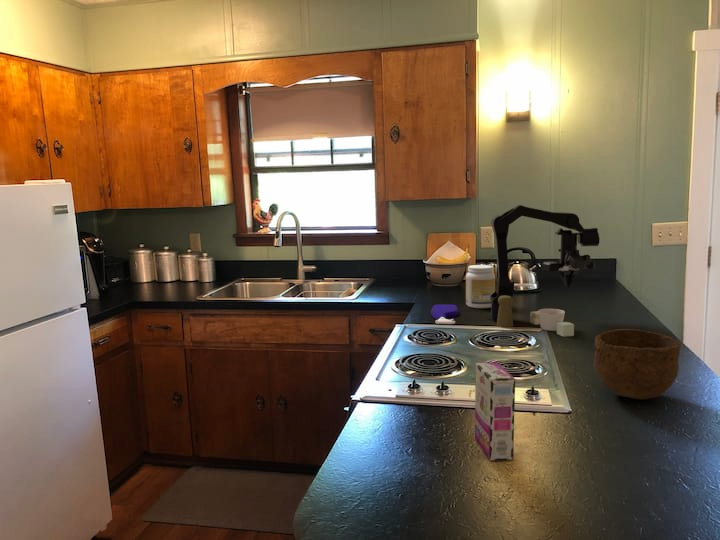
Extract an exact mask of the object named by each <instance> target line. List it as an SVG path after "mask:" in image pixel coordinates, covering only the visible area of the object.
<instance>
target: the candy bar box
mask: <svg viewBox="0 0 720 540" xmlns="http://www.w3.org/2000/svg"><path fill="white" fill-rule="evenodd" d="M474 388H475V389H474V390H475V391H474V394H475V395H474V398H475V400H474V403H475V404H474V438H475V440H476V442H477V443H478V444H479V446H480V448H481V449H482V451H483V453H484V454H485V455H486V457H487V458H488V460H489V462H497V461H498V462H503V461H504V462H505V461H506V462H507V461H513V460H514V445H515V444H514V439H515V438H514V437H515V433H514V432H515V407H516V406H515V405H516V404H515V402H516V401H515V400H516V399H515V398H516V378H515V377H514V376H513V375H512V374H510V373H509V371H507V369H505V368H504V367H503V366H502V365H501V364H499V362H494V361H493V362H476V363H475V386H474Z"/></svg>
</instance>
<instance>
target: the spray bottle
mask: <svg viewBox="0 0 720 540" xmlns="http://www.w3.org/2000/svg"><path fill="white" fill-rule="evenodd" d="M431 308H432V309H431V310H430V315H431V317H432V318H433V319H435V323H436V324H437V325H455V324H456V320H454V318H456V317H457V316H459V314H460V313H459V309H458V306H457V305H455V304H443V303H442V304H438V303H437V304H434V305H433V306H432V307H431ZM449 318H450V319H449ZM451 318H452V319H451ZM435 323H434V324H435Z"/></svg>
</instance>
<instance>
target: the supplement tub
mask: <svg viewBox="0 0 720 540" xmlns="http://www.w3.org/2000/svg"><path fill="white" fill-rule="evenodd" d="M467 271H468V272H466V275H465V305H466V306H467V307H469V308H474V309H488V308H491V302H492V301H491V299H490V296H491V295H492V294H493V293H494V292H495V291H496V274H495V273H494V272H493V271H494V266H493V265H489V264H474V265H468V266H467Z"/></svg>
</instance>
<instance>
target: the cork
mask: <svg viewBox="0 0 720 540" xmlns="http://www.w3.org/2000/svg"><path fill="white" fill-rule="evenodd" d="M513 301H514V300H513V297H511V296H506V295H504V296H500V297H499V298H498V303H499V312H498V319H497V321H496V326H497V327H499V326H501V327H500V328H512V327H514V320H513V311H512V304H513Z"/></svg>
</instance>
